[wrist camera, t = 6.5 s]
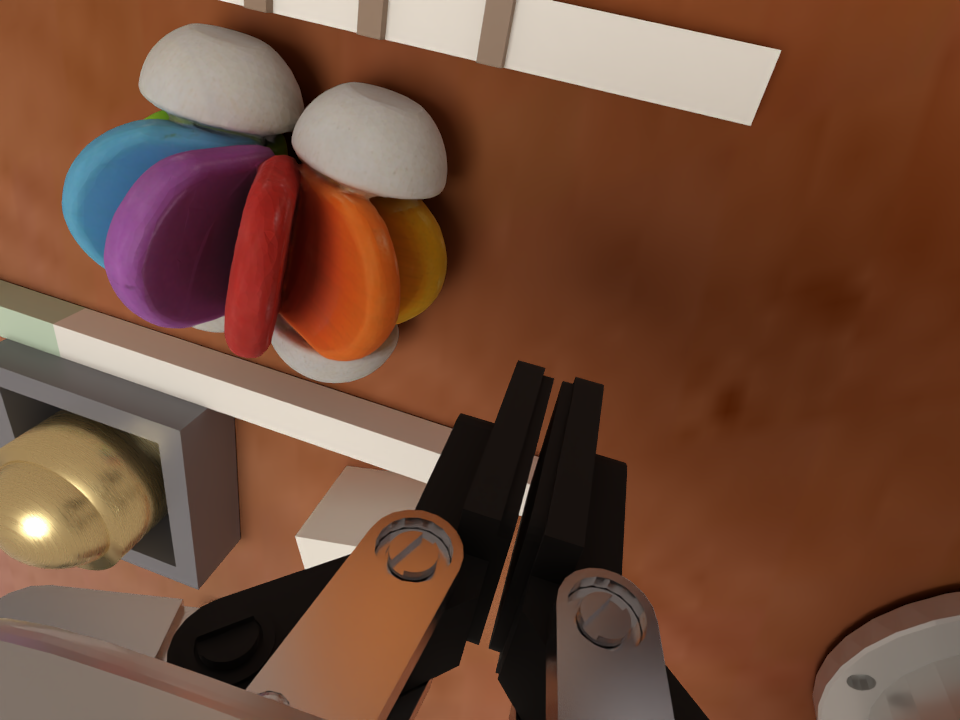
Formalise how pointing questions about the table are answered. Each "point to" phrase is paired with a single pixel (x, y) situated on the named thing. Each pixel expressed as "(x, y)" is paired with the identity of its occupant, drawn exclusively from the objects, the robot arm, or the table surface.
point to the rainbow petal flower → (265, 206)
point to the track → (446, 29)
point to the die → (354, 511)
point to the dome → (78, 493)
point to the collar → (156, 417)
